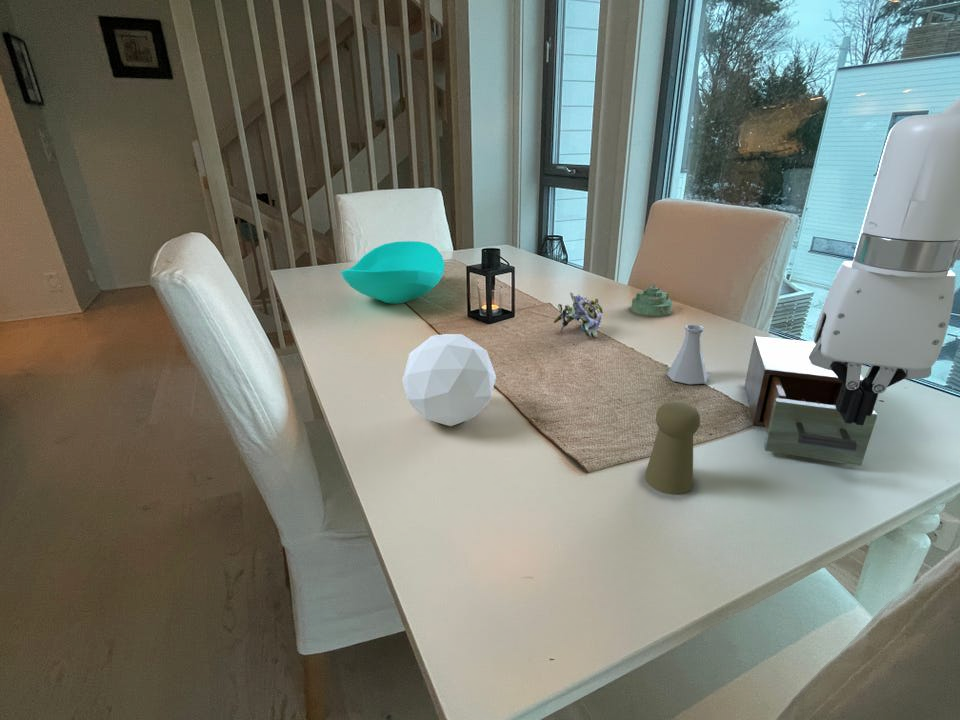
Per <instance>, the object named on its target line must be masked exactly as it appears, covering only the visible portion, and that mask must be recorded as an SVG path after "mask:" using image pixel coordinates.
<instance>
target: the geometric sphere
mask: <svg viewBox="0 0 960 720" xmlns="http://www.w3.org/2000/svg"><path fill="white" fill-rule="evenodd" d="M404 368H405V369H404V373H403V375H402V380H401V383H402V386H403V389H404V393H405V395H406V398H407V401H408V402H409V404H410V405H411V407H412V408H414V410H415V411H416V412H417V413H418V414H420V415H421V416H422V417H423V419H425V420H428V421H431V422H435V423H437V424H442V425H444V426H448V427H453V426H456V425H458V424H462V423H464V422H467V421H469V420H472V419H473V418H476V416H478V415H479V414H480V413H481V412H482V411H483V410H484V409H485V408H486V407H487V406H488V405H489V403H490V400H491V397H492V394H493V391H494V387H495V384H496V380H497V375H496V373H495V372H496V371H495V369H494V366H493V364H492V362H491V358H490V356H489V353H488V351H487V349H485V348H484V347H482V346H481V345H479V344H478V343H476V342H474V340H471V339H470V338H469V337H467V336H465V335H464V334H463V333H461V334H460V333H445V334H433V335H431V336H429V338H427V339H426V340H424V341H423V342H422V343H421V344H420V345H419V346H417V347H415V348H414V349H413V350H412V351H411V352H410V353H408V358H407V360H406V365H405V367H404Z"/></svg>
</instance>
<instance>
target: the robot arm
mask: <svg viewBox="0 0 960 720" xmlns="http://www.w3.org/2000/svg"><path fill="white" fill-rule="evenodd" d="M956 261H960V97H959V98H957V99H956V100H955V101H954V102H953V103H951V104H950V105H948V106H947V107H946V108H945V109H944V110H942V111H941V112H939V113H932V114H917V115H916V114H915V115H911V116H907V117H904V118H902V119H900V120H899V121H897V122H896V123H894V124H893V126H892V127H891V129H890V130H889V132H888V135H887V138H886V140H885V145H884V147H883V151H882V155H881V158H880V162H879V166H878V170H877V172H876V177H875V180H874V183H873V187H872V191H871V194H870V198H869V201H868V204H867V208H866V212H865V216H864V219H863V223H862V226H861V230H860V234H859V236H858V240H857V244H856V247H855V252H854V255H853V259H852V260H850V261H849V260H847V261H842V263H841V264H840V266H839V268H838V270H837V272H836V274H835V276H834V278H833V281H832V283H831V284H830V286H829V287H830V288H829V290H828V292H827V294H826V297H825V300H824V302H823V304H822V308H821V310H820V313H819V315H818V318H817V322H816V325H815V329H814V332H813V339H812V340H813V342H814V343H815V344H816V345H815V347H814V348H813V350H812V352H811V353H810V355H809V360H810V362H811V364H812V365H815V366H818V367H821V368H824V369H827V370H831V371H833V372H834V373H835V374H836V375H837V377H838V378H839V379H840V380H841V381H842V385H841V389H840V392H839V395H838V399H837V402H836V410H837V411H838V412H839V413H840V414H841V416H842V418H843V420H844V422H845V423H848V424H851V423H856V425H862V426H863V424H864V422H865V419H866V416H871V414H872V412H873V410H874V408H875V406H876V403H877V399H878V396H879V394H883V393H884V392H886V391H887V388H889V387H891V386H893V385H895V384H897V383H899V382H901V381H902V380H915V379H916V380H918V379H928V378H929V377H930V376H932V367H933V366H934V365H935V363H936V362H937V360H938V358H939V356H940V353H941V351H942V348H943V345H944V342H945V338H946V335H947V333H948V328H949V324H950V320H951V315H952V311H953V304H954V300H955V299H954V298H955V288H956V276H957V275H956V273H955V271H952V270H950V269H953V268H954V265H955V263H956ZM862 365H864V366H865V365H866V366H869V368H868V370H867V372H866V373H865V376H864V379H863V381H860V376H861V375H862Z"/></svg>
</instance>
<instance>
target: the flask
mask: <svg viewBox="0 0 960 720" xmlns="http://www.w3.org/2000/svg"><path fill="white" fill-rule="evenodd" d="M704 329H705V327H703V326H702V325H700V324H693V323H692V324H686V325H685V326H684V330H685V336H684V340H683V343H682V345H681V347H680V349H679V351H678V353H677V355H676V357H675V359H674V361H673V363H672V364H671V366H670V368H669V370H668V371H667V373H666V376H668V378H670V379H671V381H672V382H677V383H681V384H686V385H703V384H706V382H707V381H708V372H707V368H706V364H705V359H704V355H703V350H702V333H703V332H704Z"/></svg>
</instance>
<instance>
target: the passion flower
mask: <svg viewBox="0 0 960 720" xmlns="http://www.w3.org/2000/svg"><path fill="white" fill-rule="evenodd" d="M569 294H570V298H571V301H572V306H571V307H570V304H565V306H564V309H563V304H561V303H558V305H557V308H558V310H559V312H560V314H559V315H558V316H557V317H556V318H555V319H554V321H553V324H556V323H558V321H561V320H562V323H561V326H560V332H562V331H563V330H564V328H565V327H567V326H568V325H569V323H570V322H572V321H573V320H576V321H577V322H579V321H581V325H580V330H581V331H582V332H583V333H585V336H587V337H588V338H591V337H592V338H598V333H597V330H598V329H600V328H601V325H600V324H601V323H602V322H601V320H602V314H603V313H604V312H603V307H602V306H601V305H600V303H599V299H598V298H595V299H594V298H591V299H588V298H587V297H583V296H581V295H580V293H577V295H574V293H573V292H570V293H569Z"/></svg>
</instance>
